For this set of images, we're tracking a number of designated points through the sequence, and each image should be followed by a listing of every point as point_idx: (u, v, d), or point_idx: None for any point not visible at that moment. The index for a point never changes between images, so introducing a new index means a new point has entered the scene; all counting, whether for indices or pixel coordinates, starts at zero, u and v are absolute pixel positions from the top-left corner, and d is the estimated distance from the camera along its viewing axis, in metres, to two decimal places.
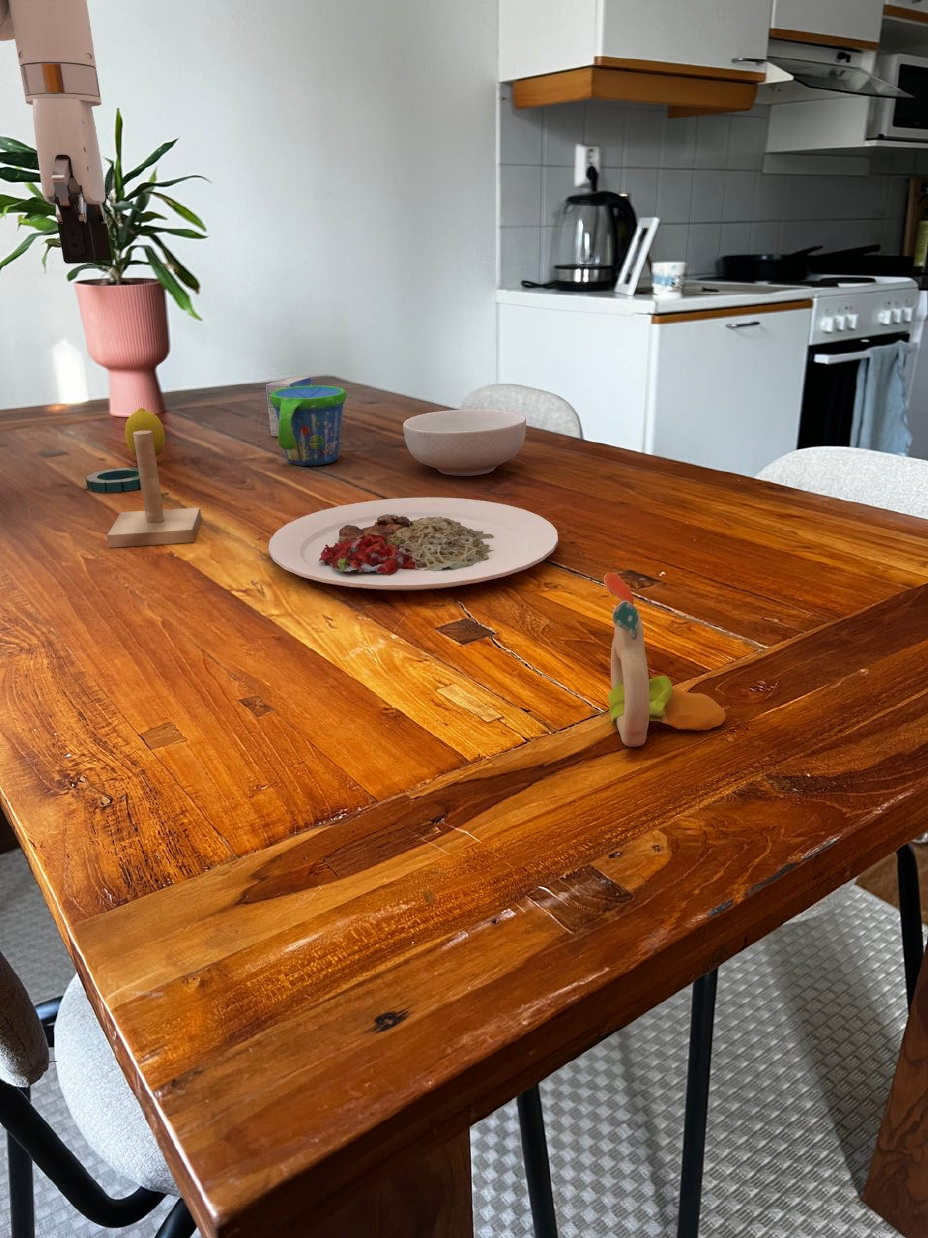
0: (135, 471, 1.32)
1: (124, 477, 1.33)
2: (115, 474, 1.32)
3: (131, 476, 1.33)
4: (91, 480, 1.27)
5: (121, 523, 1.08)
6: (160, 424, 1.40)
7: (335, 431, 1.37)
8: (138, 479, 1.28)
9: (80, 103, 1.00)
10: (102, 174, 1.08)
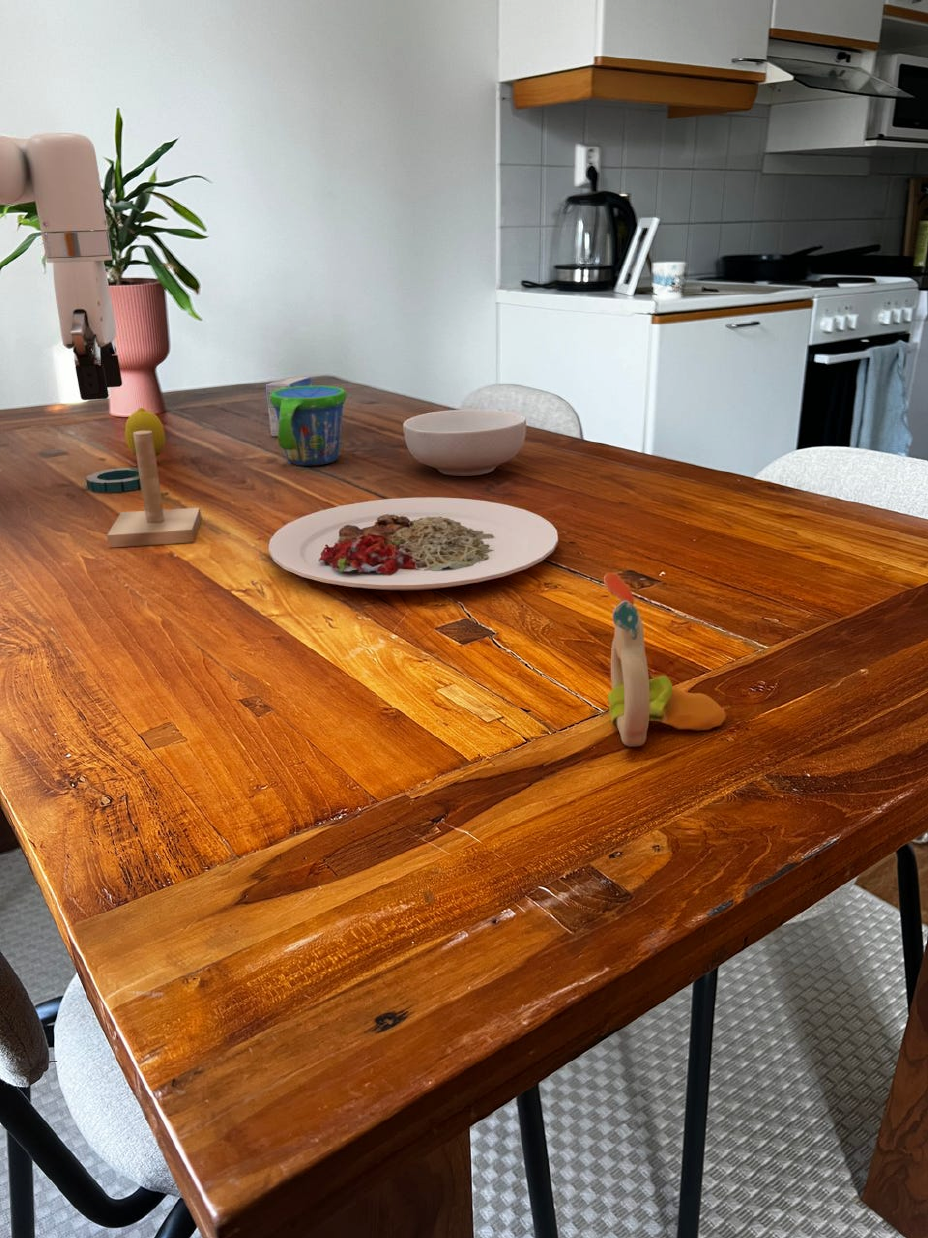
0: (135, 471, 1.32)
1: (124, 477, 1.33)
2: (115, 474, 1.32)
3: (131, 476, 1.33)
4: (91, 480, 1.27)
5: (121, 523, 1.08)
6: (160, 424, 1.40)
7: (335, 431, 1.37)
8: (138, 479, 1.28)
9: (94, 264, 1.14)
10: (113, 315, 1.22)
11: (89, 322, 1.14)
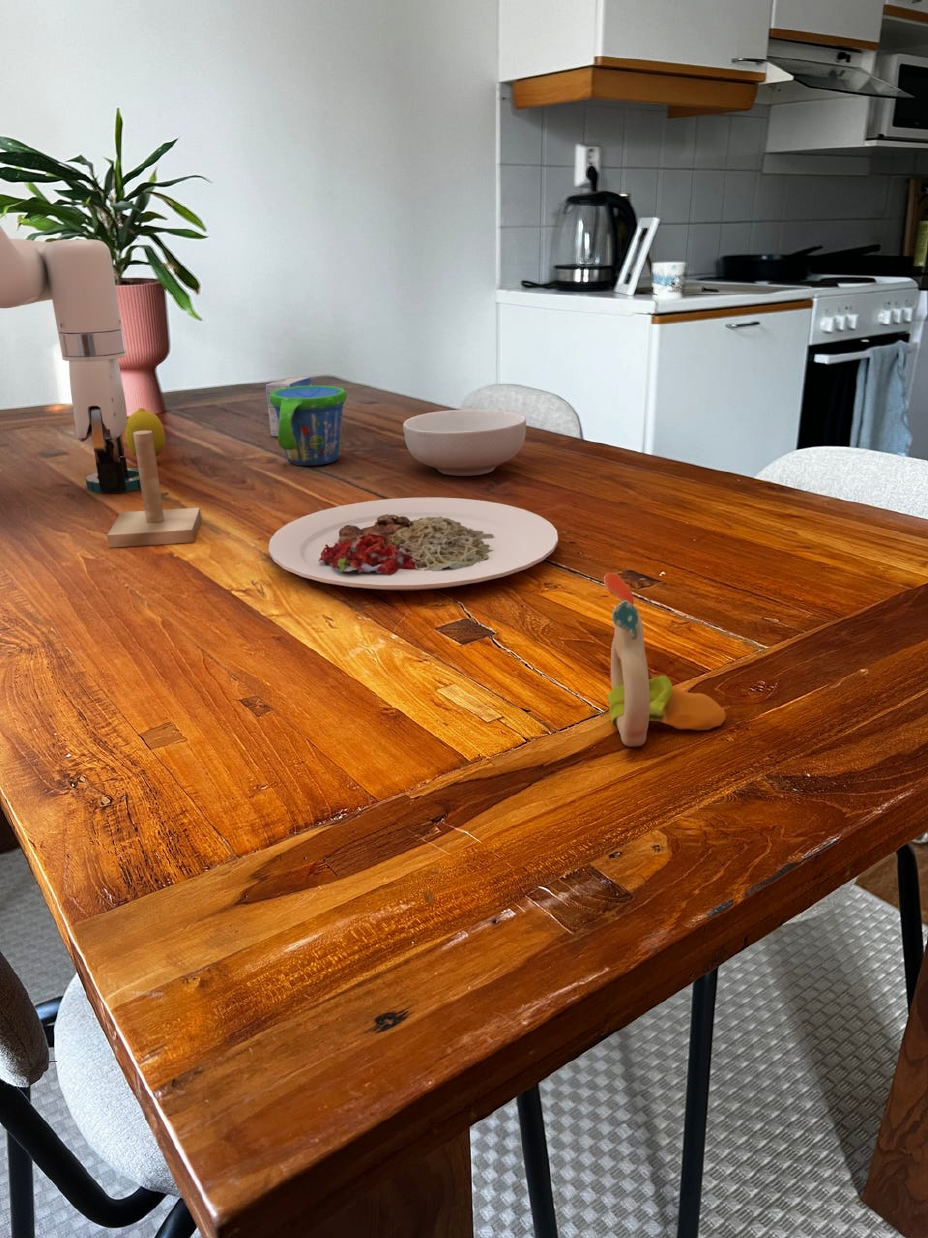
0: (135, 471, 1.32)
1: None
2: None
3: (131, 476, 1.32)
4: (91, 480, 1.27)
5: (121, 523, 1.08)
6: (160, 424, 1.40)
7: (335, 431, 1.37)
8: (138, 479, 1.28)
9: (108, 362, 1.18)
10: (125, 406, 1.26)
11: (103, 418, 1.19)
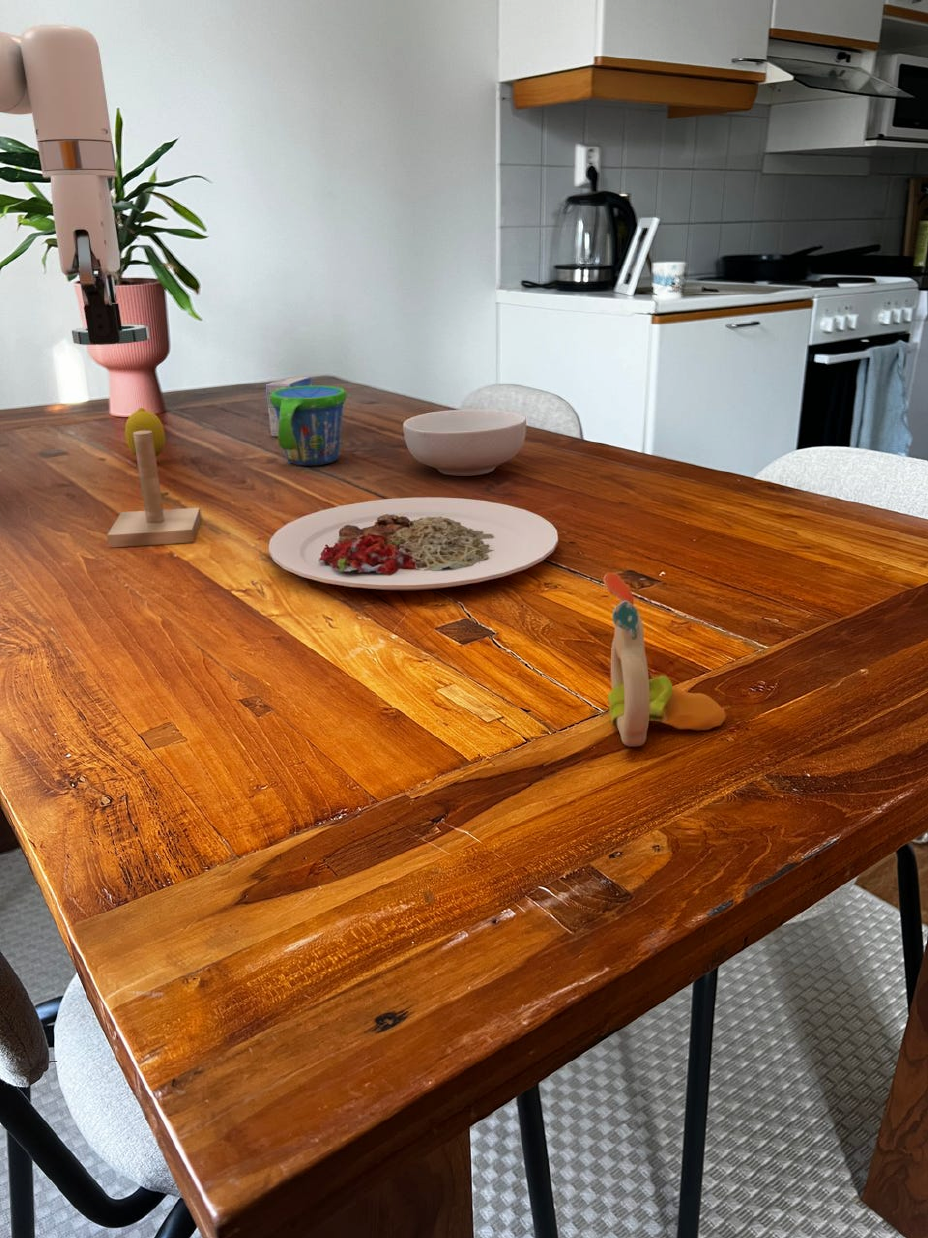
0: (129, 326, 1.14)
1: None
2: None
3: None
4: (78, 331, 1.09)
5: (121, 523, 1.08)
6: (160, 424, 1.40)
7: (335, 431, 1.37)
8: (133, 330, 1.10)
9: (97, 178, 1.01)
10: (117, 243, 1.09)
11: (91, 245, 1.01)
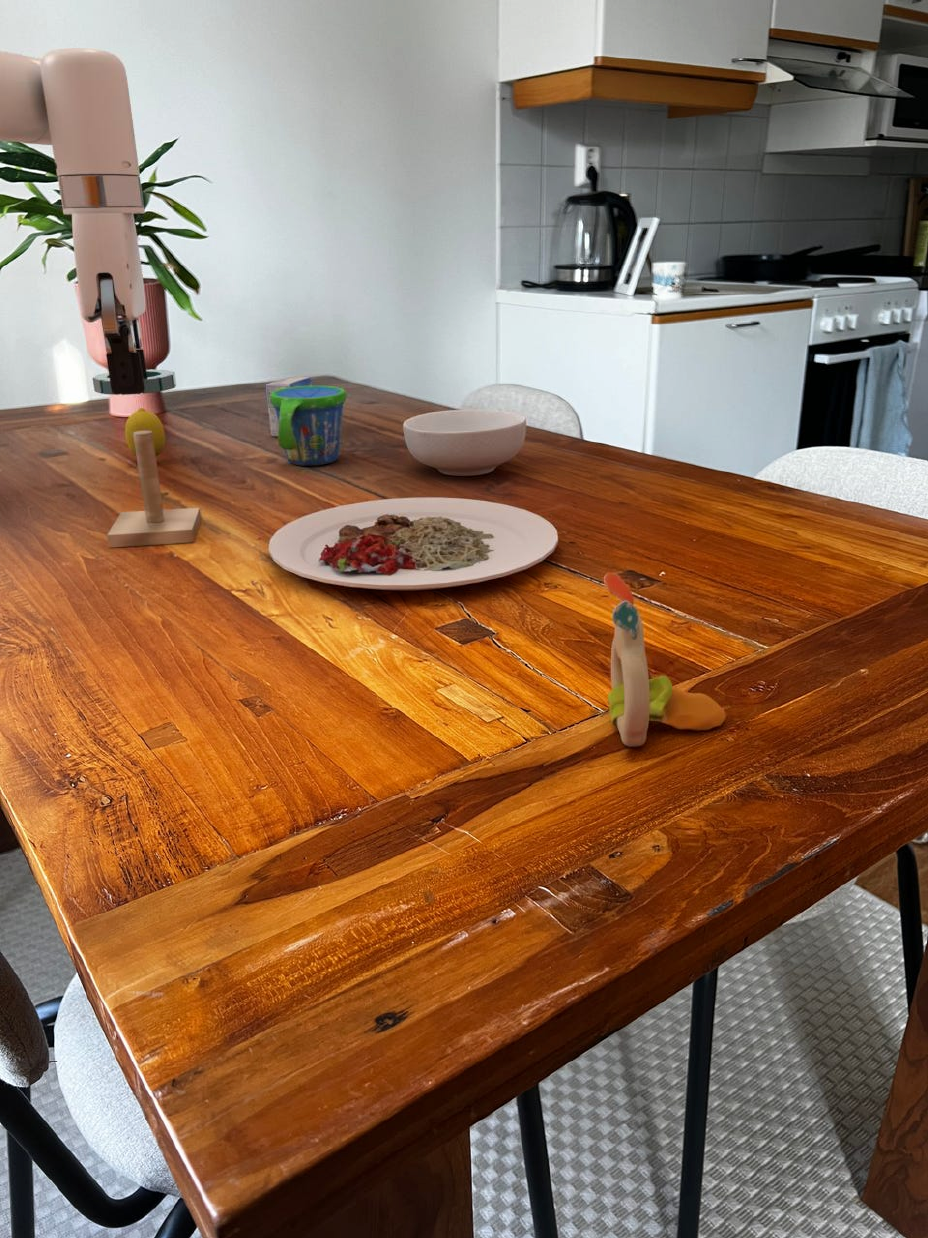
0: (154, 372, 1.05)
1: None
2: None
3: None
4: (100, 379, 1.00)
5: (121, 523, 1.08)
6: (160, 424, 1.40)
7: (335, 431, 1.37)
8: (160, 378, 1.01)
9: (123, 216, 0.91)
10: (143, 284, 0.99)
11: (116, 289, 0.92)
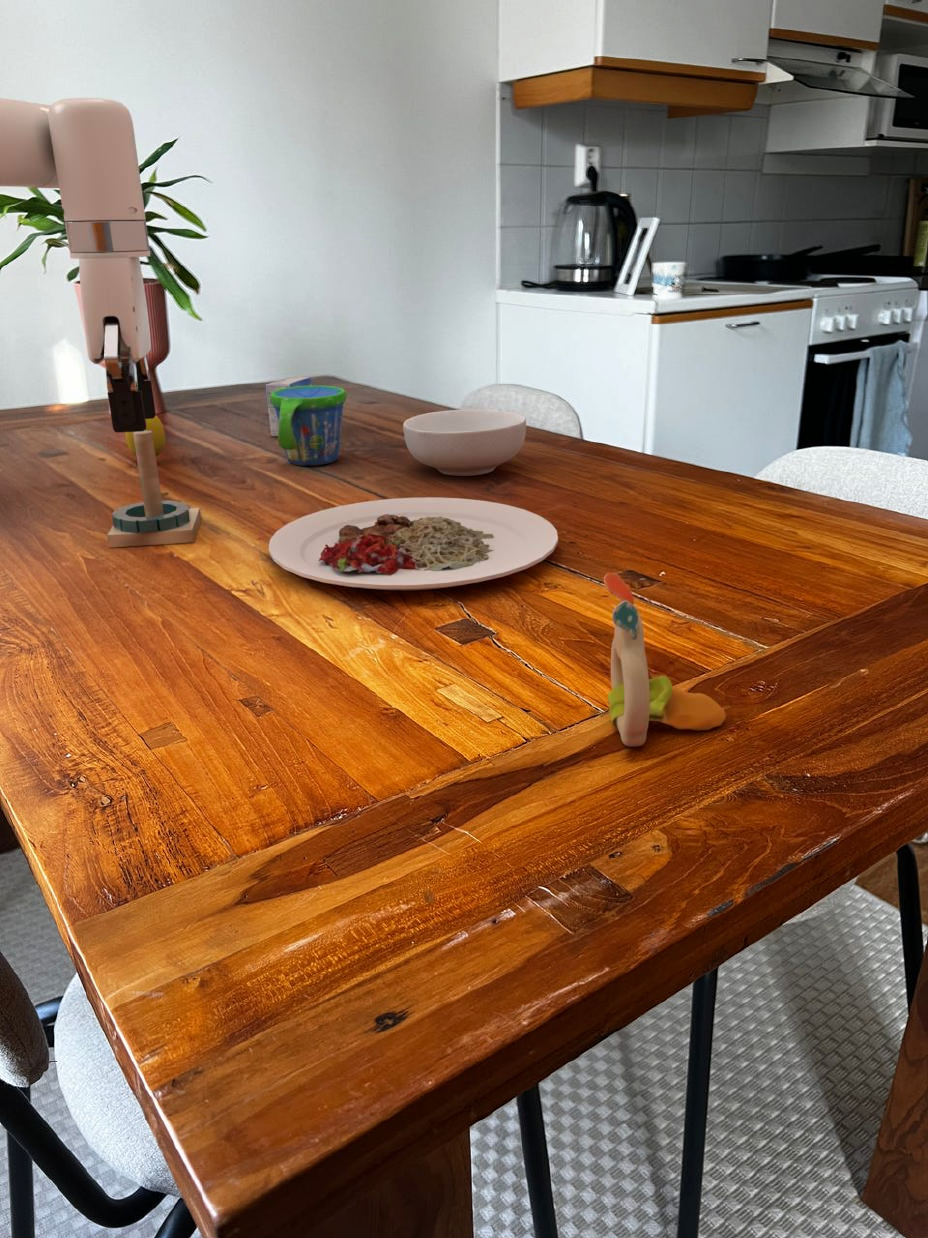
0: (170, 505, 1.10)
1: None
2: None
3: (165, 511, 1.11)
4: (119, 518, 1.05)
5: None
6: (160, 424, 1.40)
7: (335, 431, 1.37)
8: (176, 516, 1.06)
9: (129, 260, 0.93)
10: (148, 324, 1.01)
11: (122, 332, 0.93)
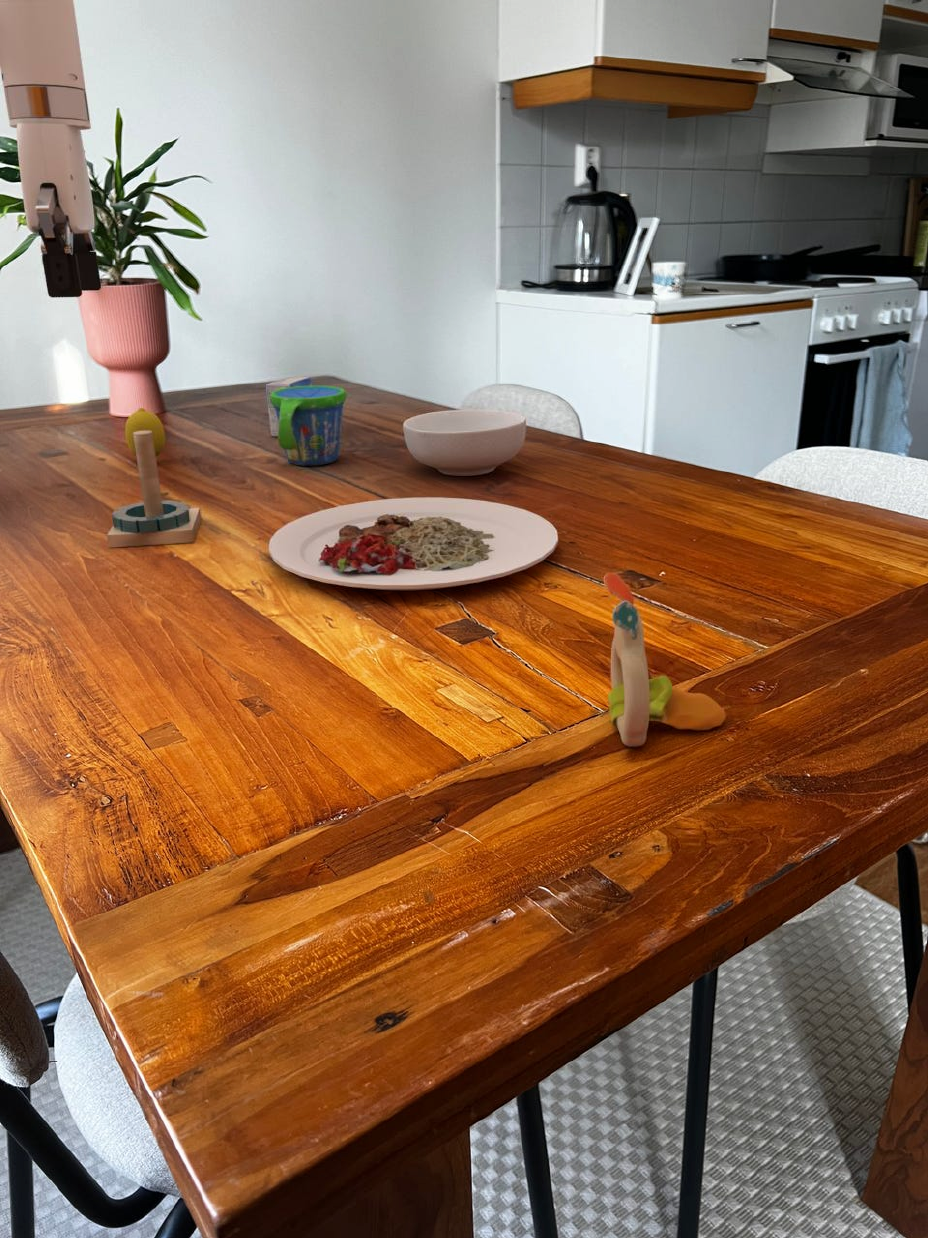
0: (170, 505, 1.10)
1: None
2: None
3: (165, 511, 1.11)
4: (119, 518, 1.05)
5: None
6: (160, 424, 1.40)
7: (335, 431, 1.37)
8: (176, 516, 1.06)
9: (67, 128, 0.94)
10: (91, 201, 1.02)
11: (59, 200, 0.94)
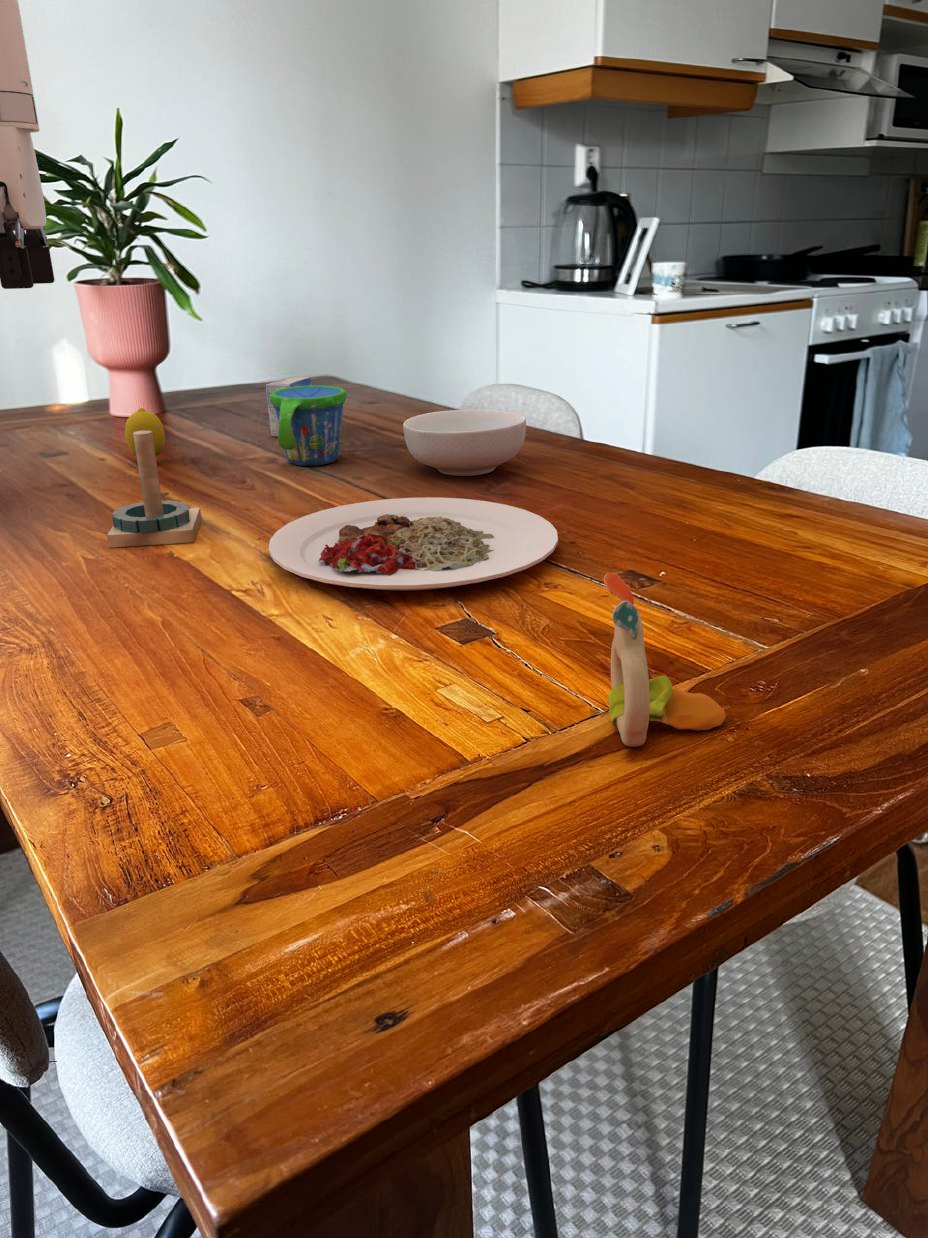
0: (170, 505, 1.10)
1: None
2: None
3: (165, 511, 1.11)
4: (119, 518, 1.05)
5: None
6: (160, 424, 1.40)
7: (335, 431, 1.37)
8: (176, 516, 1.06)
9: (16, 130, 1.01)
10: (42, 199, 1.09)
11: (10, 197, 1.01)
